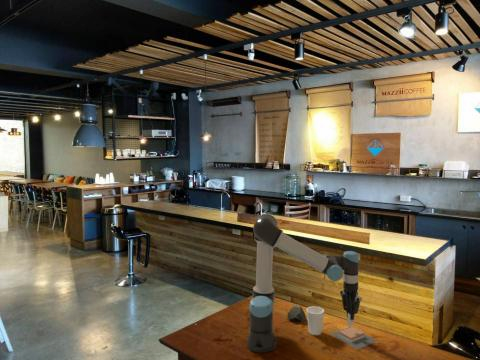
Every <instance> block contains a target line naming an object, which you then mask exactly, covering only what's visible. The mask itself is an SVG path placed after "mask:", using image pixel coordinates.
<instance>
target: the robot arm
mask: <svg viewBox="0 0 480 360" xmlns="http://www.w3.org/2000/svg"><path fill="white" fill-rule="evenodd" d="M252 231H253V233H254V241H255V242H256V264H255V265H256V267H255V269H256V270H255V271H256V272H255V273H256V274H255V286H253V287H252V299H251V300H250V301H249V306H248V309H249V332H248V335H247V338H246V347H247V348H248V350H250V351H252V352H254V353H259V354H260V353H261V354H262V353H263V354H264V353H265V354H266V353H270V352H272V351H273V350H275V349H276V347H277V338H276V336H275V333H274V329H273V328H274V326H273V325H274V324H273V323H274V321H273V320H274V306H275V288H274V287H273V285H272V284H273V262H274V260H273V257H274V248H278V249H279V250H281V251H282V252H285V253H287V254H289V255H290V256H292V257H294V258H295V259H297V260H299V261H301V262H302V263H305V264H306V265H308V266H309V267H312V268H313V269H314V270H317V271H318V272H320V273H322V274H324V275H325V276H327V278H328V279H329V281H332V282H338V281H340V280H341V279H342V280H343V284H342V285H343V286H342V288H343V290H340V291H339V293H340V297H341V301H342V307H343V310H344V311H346V318H347V326H349V327H352V326H353V325H354V320H355V315H356V314H358V313H359V308H360V305H361V301H362V298H363V297H360V296H359V292H358V290H359V263H360V262H359V253H358V252H356V251H353V250H348V251H346V250H345V251H344V252H343V255H332V254H331V255H327V254H326V255H323V254H321V253H319V252H318V251H316V250H313V249H312V248H310V246H307V245H305V244H303V243H301V242H299V241H298V240H295V239H296V238H295V239H294V238H293V237H291V236H289V235H288V234H285V233H284V230H282V229H281V228H280V227H278V221H277V219H276V217H275V216H273V215H272V214H270V213H262V214H260V215H258V216H257V218H256V219H255V221H254V223H253V229H252Z"/></svg>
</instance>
